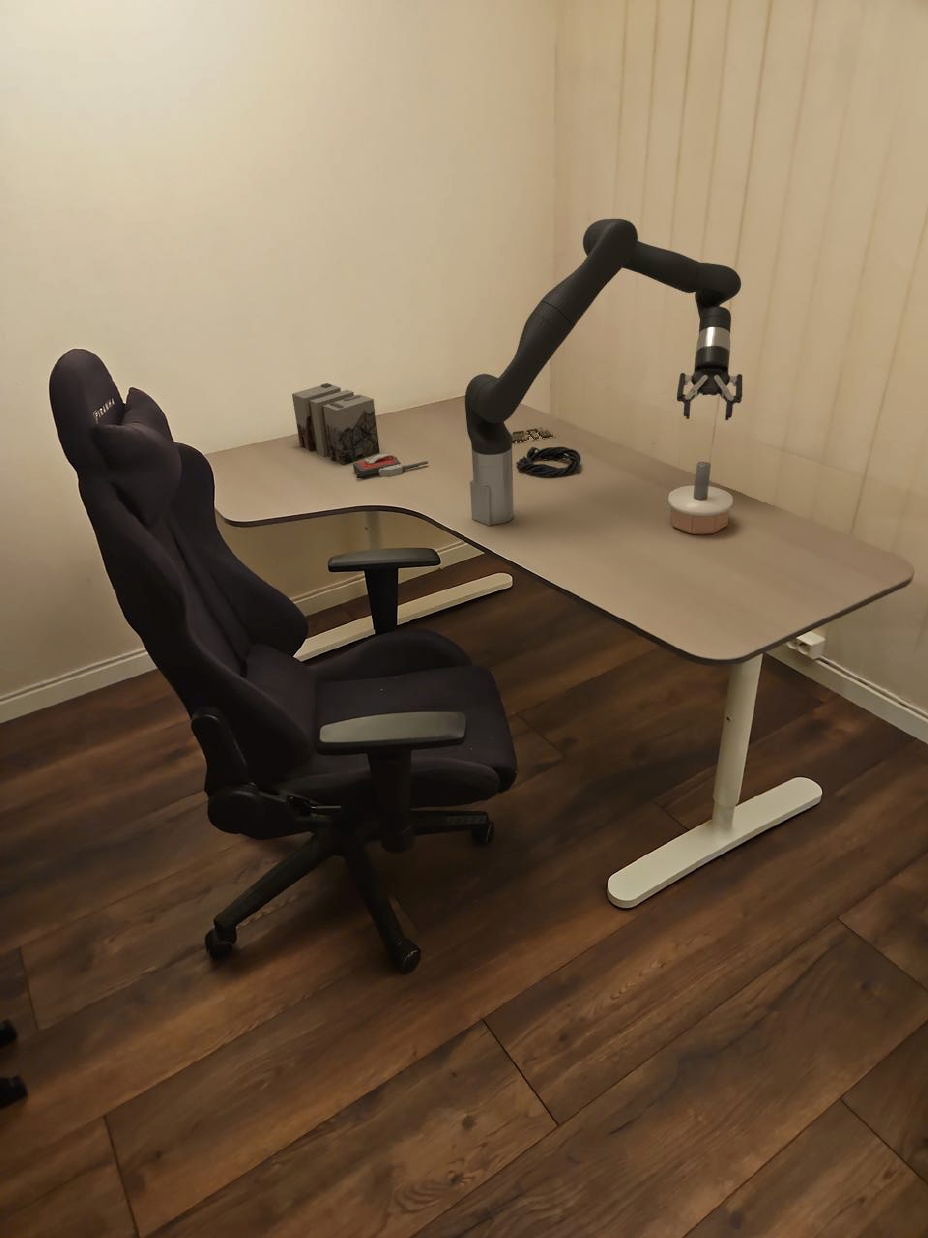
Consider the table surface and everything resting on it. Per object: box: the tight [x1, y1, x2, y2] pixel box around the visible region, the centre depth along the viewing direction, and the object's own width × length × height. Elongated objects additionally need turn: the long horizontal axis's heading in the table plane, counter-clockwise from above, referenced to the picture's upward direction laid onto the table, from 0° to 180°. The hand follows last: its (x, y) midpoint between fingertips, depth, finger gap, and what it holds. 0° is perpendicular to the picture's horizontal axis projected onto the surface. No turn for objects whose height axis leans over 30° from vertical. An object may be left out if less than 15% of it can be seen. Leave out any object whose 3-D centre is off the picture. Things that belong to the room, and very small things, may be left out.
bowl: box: [669, 507, 730, 535], centre depth 200 cm, size 12×12×5 cm
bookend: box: [291, 382, 380, 466], centre depth 248 cm, size 16×25×16 cm, turn 41°
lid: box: [667, 461, 734, 516], centre depth 196 cm, size 14×14×9 cm
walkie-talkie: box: [352, 452, 429, 480], centre depth 237 cm, size 9×4×20 cm
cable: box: [516, 446, 581, 478], centre depth 232 cm, size 17×14×4 cm
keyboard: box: [511, 427, 554, 444], centre depth 253 cm, size 22×9×2 cm, turn 105°
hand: (707, 418), depth 199 cm, fingers open, 8 cm apart
